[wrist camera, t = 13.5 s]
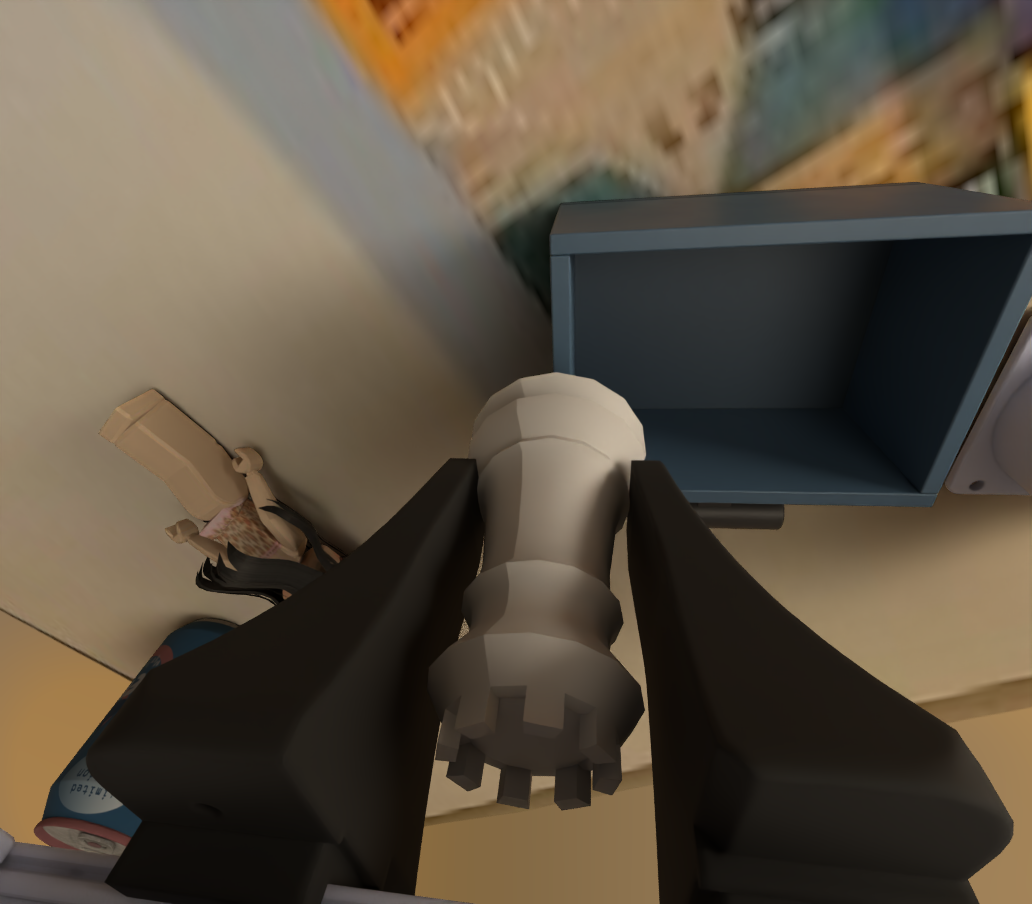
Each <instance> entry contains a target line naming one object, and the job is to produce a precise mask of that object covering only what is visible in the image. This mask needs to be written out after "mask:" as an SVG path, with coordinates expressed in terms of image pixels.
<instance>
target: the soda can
mask: <svg viewBox="0 0 1032 904" xmlns="http://www.w3.org/2000/svg"><path fill="white" fill-rule="evenodd" d="M237 627H238V625H235V624H233V623H230V622H227V621H223V620H218V619H200V620H196V621H194V622H192V623H190V624H187V625H185V626H183V627H181V628H179V629H177V630H175V631H174V632H172V633H171V634H169V635H168V636H167V638H166V639H165V640H164V641H163V643H162V644H161V645H160V647H159V648H158V649H157V650H156V652H155V653H154V654H153V656H152V657H151V658H150V660H149V661H148V662H147V663H146V665H145V666H144V667H143V669H142V670H141V671H140V672H139V674H138V675H137V676H136V678H135V679H134V680H133V681H132V683H131V684H130V685H129V687H128V688H127V689H126V690H125V692H124V693H123V694H122V696H121V697H120V698H119V700H118V701H117V702H116V703H115V705H114V706H113V707H112V709H111V710H110V711H109V712H108V714H107V715H106V716H105V718H104V719H103V720H102V721H101V723H100V724H99V725H98V727H97V728H96V729H95V731H94V732H93V733H92V734H91V736H90V737H89V738H88V740H87V741H86V742H85V743H84V745H83V746H82V747H81V749H80V750H79V751H78V752H77V754H76V755H75V756H74V758H73V759H72V760H71V761H70V763H69V764H68V765H67V767H66V768H65V769H64V771H63V772H62V773H61V774H60V776H59V777H58V778H57V780H56V781H55V782H54V784H53V785H52V786H51V788H50V792H49V795H48V799H47V803H46V806H45V810H44V814H43V818H42V821H40V822H39V823H38V824H37V825H36V827H35V828H34V833H35V835H36V836H37V837H38V838H39V839H40V840H42V841H43V842H44V843H46V844H48V845H49V846H51V847H58V848H65V849H72V850H80V851H87V852H95V853H102V854H109V855H117V856H121V854H122V853H123V851H124V849H125V848H126V846H127V844H128V843H129V841H130V840H131V838H132V836H133V835H134V833H135V832H136V830H137V828H138V827H139V825H140V823H141V822H142V820H141V819H140V818H139V817H137V816H136V815H135V814H134V813H133V812H131V811H130V810H129V809H128V808H127V807H125V806H124V805H123V804H122V803H121V802H120V801H118V800H117V799H116V798H115V797H114V796H112V795H111V794H110V793H109V792H108V791H106V790H105V789H104V788H103V787H102V786H101V785H100V784H99V783H98V782H97V781H96V780H95V779H94V778H93V777H92V776H91V775H90V772H89V770H88V768H87V765H86V755H87V752H88V749H89V748H90V747H91V746H92V744H93V743H94V742H95V740H96V739H97V738H98V736H99V735H100V734H101V733H102V731H103V730H104V729H105V727H106V726H107V725H108V724H109V722H110V721H111V720H112V718H113V717H114V716H115V714H116V713H117V712H118V711H119V709H120V708H121V707H122V705H123V704H124V703H125V701H126V700H127V699H128V698H129V696H130V695H131V694H132V692H133V691H134V690H135V688H136V687H137V686H138V685H139V683H140V682H141V681H142V679H143V678H144V677H145V676H146V674H147V673H148V672H149V671H150V670H151V669H153V668H155V667H157V666H159V665H162V664H164V663H166V662H168V661H170V660H172V659H174V658H176V657H179V656H181V655H183V654H185V653H187V652H189V651H191V650H193V649H195V648H197V647H199V646H201V645H203V644H206V643H208V642H210V641H212V640H214V639H216V638H218V637H220V636H222V635H223V634H225V633H227V632H229V631H231V630H233V629H235V628H237Z"/></svg>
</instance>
